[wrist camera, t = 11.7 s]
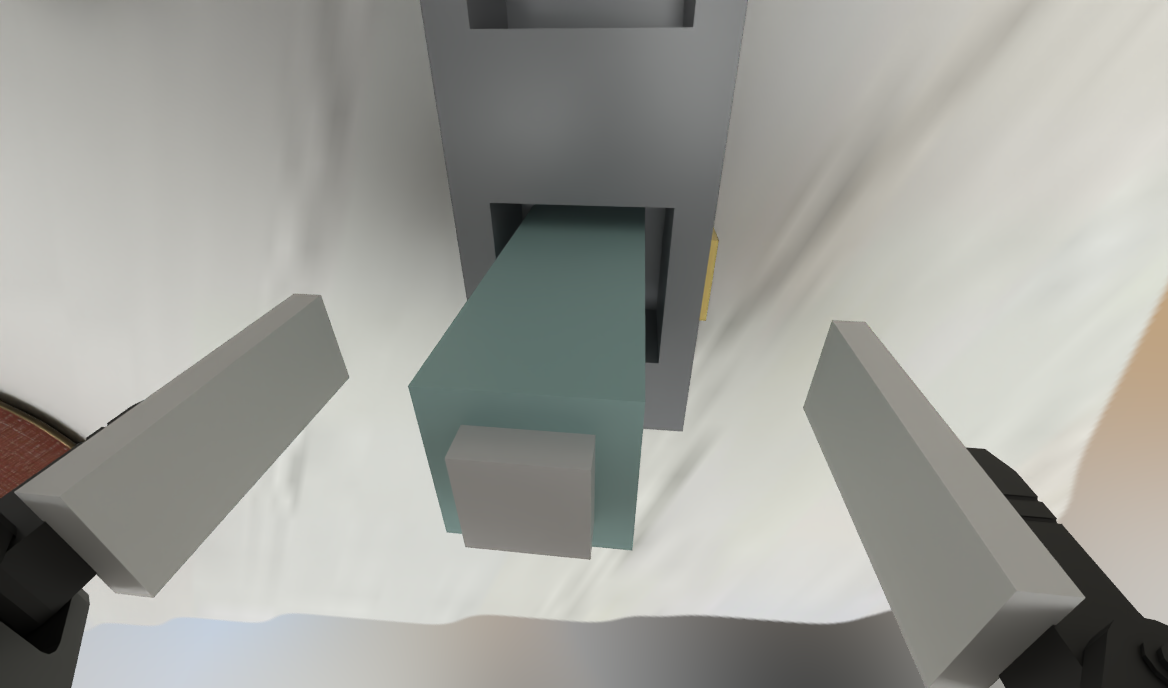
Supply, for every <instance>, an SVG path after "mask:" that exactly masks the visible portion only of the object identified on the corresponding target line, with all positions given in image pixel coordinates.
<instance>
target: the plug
mask: <svg viewBox="0 0 1168 688" xmlns="http://www.w3.org/2000/svg"><path fill="white" fill-rule="evenodd" d="M408 387H409V391H410V395H411V399H412V402H413V406H414V410H415V414H416V418H417V421H418V425H419V429H420V433H421V437H422V440H423V444H424V448H425V452H426V455H427V459H428V463H429V467H430V471H431V474H432V478H433V482H434V486H435V490H436V493H437V497H438V501H439V505H440V509H441V512H442V516H443V520H444V524H445V527H446V531H447V532H449V533H460V534H462V535H463V539H464V543H465V547H470V548H480V549H490V550H500V551H510V552H520V553H530V554H540V555H550V556H560V557H570V558H580V559H589V560H590V559H591V549H592V547H602V548H613V549H623V550H632V547H633V535H634V524H635V513H636V502H637V490H638V479H639V468H640V457H641V445H642V434H643V423H644V412H645V207H618V206H584V205H549V204H534V206H533V207H532V208H531V210H530V211H529V213H528V214H527V216H526V217H525V219H524V220H523V221H522V223H521V224H520V226H519V227H518V229H517V230H516V231H515V233H514V234H513V236H512V237H511V239H510V240H509V242H508V243H507V244H506V246H505V247H504V249H503V250H502V252H501V253H500V255H499V256H498V257H497V259H496V260H495V262H494V263H493V265H492V266H491V267H490V269H489V270H488V272H487V273H486V275H485V276H484V278H483V279H482V280H481V282H480V283H479V285H478V286H477V288H476V289H475V291H474V292H473V293H472V295H471V296H470V298H469V299H468V301H467V302H466V303H465V305H464V306H463V308H462V309H461V311H460V312H459V314H458V315H457V316H456V318H455V319H454V321H453V322H452V324H451V325H450V327H449V328H448V329H447V331H446V332H445V334H444V335H443V337H442V338H441V340H440V341H439V342H438V344H437V345H436V347H435V348H434V350H433V351H432V352H431V354H430V355H429V357H428V358H427V360H426V361H425V363H424V364H423V365H422V367H421V368H420V370H419V371H418V373H417V374H416V376H415V377H414V378H413V380H412V381H411V383H410V384H409V386H408Z"/></svg>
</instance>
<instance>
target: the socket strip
mask: <svg viewBox="0 0 1168 688" xmlns="http://www.w3.org/2000/svg"><path fill="white" fill-rule="evenodd" d="M747 3H748V0H420V4H421V10H422V17H423V23H424V29H425V36H426V42H427V49H428V55H429V61H430V68H431V74H432V80H433V87H434V93H435V99H436V106H437V112H438V119H439V125H440V131H441V138H442V144H443V150H444V157H445V163H446V170H447V176H448V182H449V189H450V195H451V201H452V208H453V214H454V220H455V227H456V233H457V240H458V246H459V252H460V259H461V265H462V271H463V278H464V284H465V290H466V297H467V301H468V299H469V298H470V296H471V295H472V293H473V292H474V291H475V289H476V288H477V286H478V285H479V283H480V282H481V280H482V279H483V278H484V276H485V275H486V273H487V272H488V270H489V269H490V267H491V266H492V265H493V263H494V262H495V260H496V259H497V257H498V256H499V255H500V253H501V252H502V250H503V249H504V247H505V246H506V244H507V243H508V242H509V240H510V239H511V237H512V236H513V234H514V233H515V231H516V230H517V229H518V227H519V226H520V224H521V223H522V221H523V220H524V219H525V217H526V216H527V214H528V213H529V211H530V210H531V208H532V207H533V206H534V204H549V205H584V206H618V207H645V412H644V423H643V429H656V430H669V431H683V425H684V418H685V411H686V405H687V398H688V392H689V385H690V378H691V372H692V365H693V359H694V352H695V345H696V339H697V332H698V326H699V320H703V321H706V316H707V310H708V304H709V298H710V291H711V285H712V279H713V273H714V267H715V260H716V254H717V248H718V242H719V240H718V237H717V235H716V232H715V230H714V220H715V214H716V207H717V200H718V194H719V187H720V181H721V174H722V167H723V161H724V154H725V148H726V141H727V134H728V128H729V121H730V115H731V108H732V102H733V95H734V88H735V82H736V75H737V69H738V62H739V55H740V49H741V42H742V36H743V29H744V22H745V16H746V9H747Z"/></svg>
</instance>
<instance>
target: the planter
mask: <svg viewBox="0 0 1168 688" xmlns="http://www.w3.org/2000/svg"><path fill="white" fill-rule="evenodd" d="M76 445H77V444H76V443H74V442H73V441H72V440H70V439H69V438H67V437H66V436H64V435H63V434H61V433H60V432H59V431H57V430H56V429H54V428H52V427H51V426H49V425H48V424H46V423H44V422H42V421H41V420H39V419H37V418H35V417H33V416H31V415H29V414H27V413H25V412H23V411H21V410H19V409H17V408H15V407H13V406H11V405H9V404H6V403H4V402H1V401H0V498H2V497H3V496H5V495H6V494H7V493H9V492H10V491H12V490H13V489H14V488H16V487H17V486H19V485H20V484H22V483H23V482H24V481H26V480H27V479H29V478H30V477H32V476H33V475H34V474H36V473H37V472H39V471H40V470H41V469H43V468H44V467H46V466H47V465H49V464H50V463H51V462H53V461H54V460H56V459H57V458H59V457H60V456H61V455H63V454H64V453H66V452H67V451H69V450H70V449H71V448H73V447H74V446H76Z"/></svg>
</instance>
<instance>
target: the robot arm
mask: <svg viewBox="0 0 1168 688" xmlns="http://www.w3.org/2000/svg"><path fill="white" fill-rule="evenodd" d="M348 378H349V375H348V372H347V369H346V366H345V363H344V360H343V358H342V355H341V352H340V349H339V346H338V343H337V340H336V337H335V334H334V332H333V329H332V326H331V323H330V320H329V317H328V314H327V311H326V309H325V306H324V303H323V300H322V297H321V295H310V294H293V295H292V296H290V297H289V298H287V299H286V300H285V301H283V302H282V303H280V304H279V305H277V306H276V307H275V308H273V309H272V310H270V311H269V312H268V313H266V314H265V315H263V316H262V317H261V318H259V319H258V320H256V321H255V322H253V323H252V324H251V325H249V326H248V327H246V328H245V329H244V330H242V331H241V332H239V333H238V334H237V335H235V336H234V337H232V338H231V339H229V340H228V341H227V342H225V343H224V344H222V345H221V346H220V347H218V348H217V349H215V350H214V351H213V352H211V353H210V354H208V355H207V356H205V357H204V358H203V359H201V360H200V361H198V362H197V363H196V364H194V365H193V366H191V367H190V368H189V369H187V370H186V371H184V372H183V373H181V374H180V375H179V376H177V377H176V378H174V379H173V380H172V381H170V382H169V383H167V384H166V385H165V386H163V387H162V388H160V389H159V390H157V391H156V392H155V393H153V394H152V395H150V396H149V397H148V398H146V399H145V400H143V401H141V402H139V403H137V404H135V405H133V406H131V407H130V408H128V409H127V410H125V411H124V412H123V413H121V414H120V415H118V416H117V417H115V418H114V419H113V420H111V421H110V422H108V423H107V424H108V425H107V427H101V428H100V429H98V430H97V431H96V432H94V433H93V434H91V435H90V436H88V437H87V438H86V441H85V442H80V443H78V444H77V445H76V446H74V447H73V448H71V449H70V450H69V451H67V452H66V453H64V454H63V455H61V456H60V457H59V458H57V459H56V460H54V461H53V462H51V463H50V464H49V465H47V466H46V467H44V468H43V469H41V470H40V471H39V472H37V473H36V474H34V475H33V476H32V477H30V478H29V479H27V480H26V481H24V482H23V483H22V484H20V485H19V486H17V487H16V488H14V489H13V490H12V491H10V492H9V493H7V494H6V495H5V496H3V497H2V498H0V688H71V686H72V681H73V677H74V673H75V668H76V664H77V659H78V654H79V650H80V646H81V641H82V636H83V632H84V628H85V623H86V619H87V614H88V610H89V605H90V603H89V595H88V594H87V593H86V592H85V591H84V590H83V589H82V588H83V587H84V586H85V585H86V584H87V583H88V582H89V581H90V580H91V579H92V578H93V577H94V576H95V575H96V574H97V575H98V576H99V577H100V578H101V579H102V580H103V581H104V582H105V583H106V584H107V585H108V586H109V587H110V588H111V589H112V590H113V591H114V592H115V593H118V594H126V595H135V596H143V597H151V598H154V597H155V596H156V594H157V593H158V592H159V591H160V590H161V589H162V588H163V587H164V585H165V584H166V583H167V582H168V581H169V580H170V579H171V578H172V576H173V575H174V574H175V573H176V572H177V571H178V570H179V569H180V567H181V566H182V565H183V564H184V563H185V562H186V561H187V560H188V558H189V557H190V556H191V555H192V554H193V553H194V552H195V551H196V549H197V548H198V547H199V546H200V545H201V544H202V543H203V542H204V540H205V539H206V538H207V537H208V536H209V535H210V534H211V533H212V531H213V530H214V529H215V528H216V527H217V526H218V525H219V524H220V522H221V521H222V520H223V519H224V518H225V517H226V516H227V515H228V513H229V512H230V511H231V510H232V509H233V508H234V507H235V506H236V504H237V503H238V502H239V501H240V500H241V499H242V498H243V497H244V495H245V494H246V493H247V492H248V491H249V490H250V489H251V488H252V486H253V485H254V484H255V483H256V482H257V481H258V480H259V479H260V477H261V476H262V475H263V474H264V473H265V472H266V471H267V470H268V468H269V467H270V466H271V465H272V464H273V463H274V462H275V461H276V459H277V458H278V457H279V456H280V455H281V454H282V453H283V452H284V450H285V449H286V448H287V447H288V446H289V445H290V444H291V443H292V441H293V440H294V439H295V438H296V437H297V436H298V435H299V434H300V432H301V431H302V430H303V429H304V428H305V427H306V426H307V425H308V423H309V422H310V421H311V420H312V419H313V418H314V417H315V416H316V414H317V413H318V412H319V411H320V410H321V409H322V408H323V407H324V405H325V404H326V403H327V402H328V401H329V400H330V399H331V398H332V396H333V395H334V394H335V393H336V392H337V391H338V390H339V389H340V387H341V386H342V385H343V384H344V383H345V382H346V381H347V380H348ZM803 408H804V411H805V413H806V415H807V418H808V420H809V422H810V424H811V427H812V429H813V431H814V434H815V436H816V438H817V440H818V443H819V445H820V447H821V450H822V452H823V454H824V456H825V459H826V461H827V463H828V466H829V468H830V470H831V472H832V475H833V477H834V479H835V482H836V484H837V486H838V488H839V491H840V493H841V495H842V498H843V500H844V502H845V504H846V507H847V509H848V511H849V514H850V516H851V518H852V520H853V523H854V525H855V527H856V530H857V532H858V534H859V536H860V539H861V541H862V543H863V546H864V548H865V550H866V552H867V555H868V557H869V559H870V562H871V564H872V566H873V568H874V571H875V573H876V575H877V578H878V580H879V582H880V584H881V587H882V589H883V591H884V594H885V596H886V598H887V600H888V603H889V605H890V607H891V610H892V612H893V614H894V616H895V619H896V621H897V623H898V626H899V628H900V630H901V632H902V635H903V637H904V639H905V641H906V643H907V646H908V648H909V650H910V653H911V655H912V657H913V660H914V662H915V664H916V667H917V669H918V671H919V673H920V676H921V678H922V680H923V683H924V685H925V687H926V688H989V687H990V686H991V685H992V684H993V683H995V682H996V681H997V680H998V679H999V678H1000V679H1001V681H1002V682H1003V684H1004V686H1005V688H1168V625H1165V624H1163V623H1161V622H1158V621H1156V620H1151V619H1146V618H1144V617H1143V616H1142V615H1141V614H1140V613H1139V612H1138V611H1137V610H1136V609H1135V608H1134V607H1133V605H1132V604H1131V603H1130V602H1129V601H1128V600H1127V599H1126V597H1125V596H1124V595H1123V594H1122V593H1121V592H1120V591H1119V589H1118V588H1117V587H1116V586H1115V585H1114V584H1113V583H1112V582H1111V580H1110V579H1109V578H1108V577H1107V576H1106V574H1105V573H1104V572H1103V571H1102V570H1101V569H1100V568H1099V567H1098V565H1097V564H1096V563H1095V562H1094V561H1093V560H1092V558H1091V557H1090V556H1089V555H1088V554H1087V553H1086V552H1085V551H1084V549H1083V548H1082V547H1081V546H1080V545H1079V544H1078V542H1077V541H1076V540H1075V539H1074V538H1073V537H1072V535H1071V534H1070V533H1069V532H1068V531H1067V530H1066V529H1065V527H1064V526H1063V525H1062V524H1058V523H1057V522H1056V519H1057V518H1056V517H1055V516H1054V515H1053V514H1052V513H1051V511H1050V510H1049V509H1048V508H1047V507H1046V506H1045V504H1044V503H1043V502H1039V501H1038V500H1037V498H1038V496H1037V495H1036V494H1035V493H1034V492H1033V491H1032V490H1031V488H1030V487H1029V486H1028V485H1027V484H1026V483H1025V482H1024V480H1023V479H1022V478H1021V477H1020V476H1019V475H1018V473H1017V472H1016V471H1014V470H1013V469H1012V468H1010V467H1009V466H1008V465H1006V464H1005V463H1003V462H1002V461H1001V460H999V459H998V458H997V457H995V456H994V455H992V454H991V453H990V452H988V451H987V450H986V449H978V448H966V447H965V446H964V445H963V444H962V442H961V441H960V440H959V439H958V437H957V436H956V435H955V434H954V432H953V431H952V430H951V429H950V427H949V426H948V425H947V424H946V422H945V421H944V420H943V419H942V417H941V416H940V415H939V413H938V412H937V411H936V410H935V408H934V407H933V406H932V405H931V403H930V402H929V401H928V400H927V398H926V397H925V396H924V395H923V393H922V392H921V391H920V390H919V388H918V387H917V386H916V385H915V383H914V382H913V381H912V380H911V378H910V377H909V376H908V375H907V373H906V372H905V371H904V370H903V368H902V367H901V366H900V365H899V363H898V362H897V361H896V360H895V358H894V357H893V356H892V355H891V353H890V352H889V351H888V350H887V348H886V347H885V346H884V345H883V343H882V342H881V341H880V340H879V338H878V337H877V336H876V335H875V333H874V332H873V331H872V330H871V328H870V327H869V326H868V325H867V323H866V322H855V321H835V320H832V322H831V325H830V328H829V331H828V334H827V337H826V340H825V343H824V346H823V349H822V352H821V356H820V359H819V362H818V365H817V368H816V371H815V374H814V377H813V380H812V383H811V386H810V389H809V392H808V395H807V398H806V401H805V404H804V407H803Z"/></svg>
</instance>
